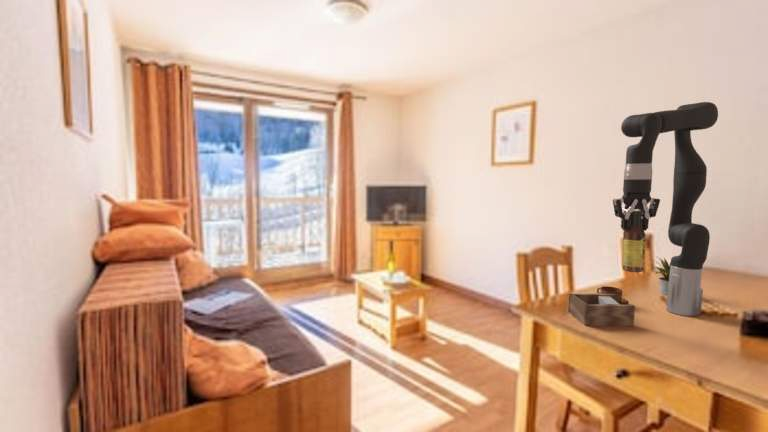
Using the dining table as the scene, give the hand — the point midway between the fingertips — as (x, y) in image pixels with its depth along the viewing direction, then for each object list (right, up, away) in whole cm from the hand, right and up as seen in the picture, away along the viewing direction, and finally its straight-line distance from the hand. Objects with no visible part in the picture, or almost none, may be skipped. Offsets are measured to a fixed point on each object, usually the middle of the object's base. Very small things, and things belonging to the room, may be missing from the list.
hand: (634, 230), depth 125 cm
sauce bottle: (0, -14, +2) cm, 14 cm away
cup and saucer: (+7, -30, +26) cm, 40 cm away
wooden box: (-5, -32, +11) cm, 34 cm away
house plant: (+39, -28, +39) cm, 62 cm away
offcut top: (-2, -29, +11) cm, 31 cm away
